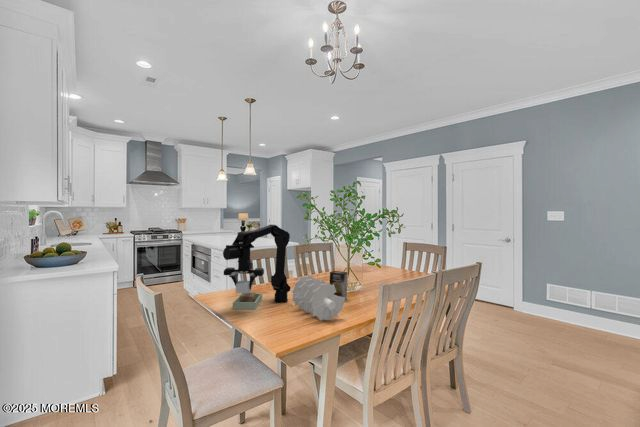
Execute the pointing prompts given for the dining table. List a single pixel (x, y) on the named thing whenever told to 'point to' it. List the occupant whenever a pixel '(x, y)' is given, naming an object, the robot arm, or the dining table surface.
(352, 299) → the dining table surface
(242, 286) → the gray block
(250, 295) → the walnut block
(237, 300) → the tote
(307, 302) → the spiral staircase
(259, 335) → the dining table surface
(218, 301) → the dining table surface
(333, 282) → the coffee box
